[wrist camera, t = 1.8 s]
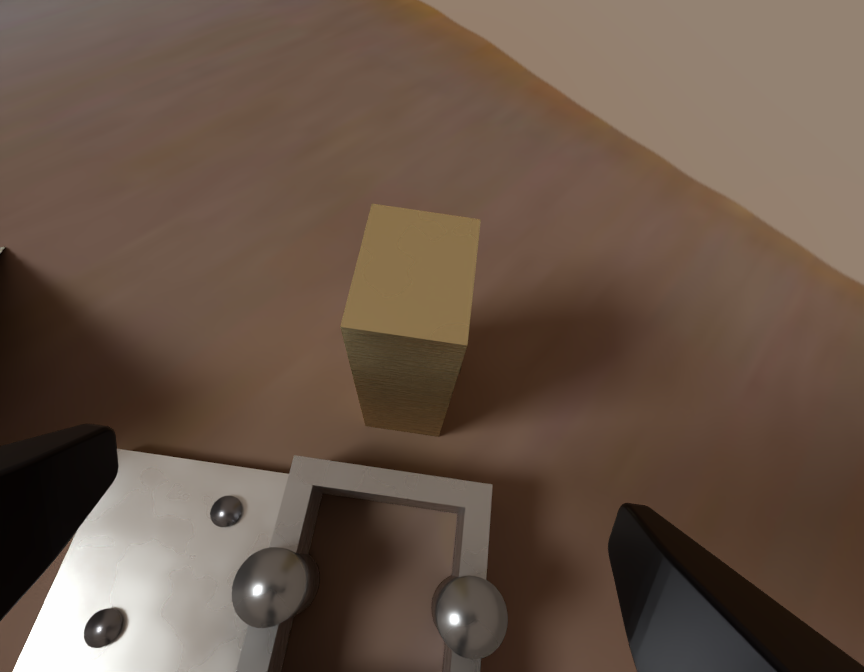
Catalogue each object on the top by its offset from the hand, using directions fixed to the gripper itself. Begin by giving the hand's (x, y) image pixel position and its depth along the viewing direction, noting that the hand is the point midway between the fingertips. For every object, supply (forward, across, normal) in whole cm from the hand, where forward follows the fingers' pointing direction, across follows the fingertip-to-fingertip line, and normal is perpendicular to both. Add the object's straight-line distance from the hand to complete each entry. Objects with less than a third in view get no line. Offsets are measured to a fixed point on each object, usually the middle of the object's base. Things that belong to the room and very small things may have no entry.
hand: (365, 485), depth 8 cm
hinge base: (+7, +4, +11) cm, 13 cm away
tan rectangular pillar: (+14, 0, +4) cm, 14 cm away
